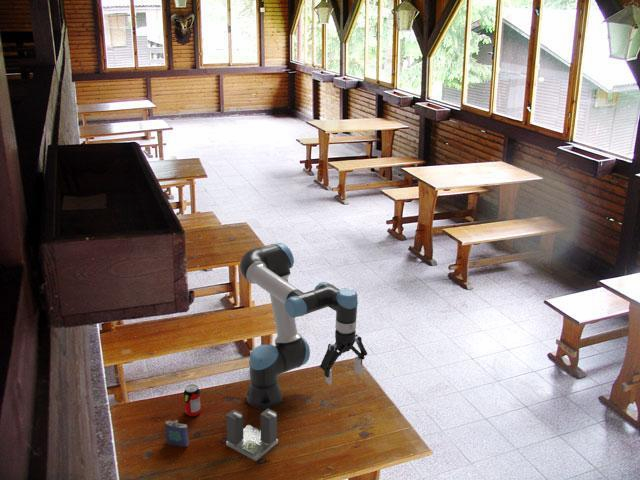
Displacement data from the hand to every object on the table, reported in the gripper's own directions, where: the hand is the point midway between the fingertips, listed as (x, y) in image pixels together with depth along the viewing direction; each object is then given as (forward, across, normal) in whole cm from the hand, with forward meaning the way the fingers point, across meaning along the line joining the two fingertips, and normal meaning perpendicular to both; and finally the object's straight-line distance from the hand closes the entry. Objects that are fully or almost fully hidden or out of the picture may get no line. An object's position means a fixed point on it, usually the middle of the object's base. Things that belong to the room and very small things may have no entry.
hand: (343, 377), depth 244 cm
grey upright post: (+23, -39, +15) cm, 48 cm away
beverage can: (+26, -45, +41) cm, 66 cm away
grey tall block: (+23, -28, +8) cm, 37 cm away
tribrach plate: (+25, -33, +11) cm, 43 cm away
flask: (+26, -57, +27) cm, 68 cm away
